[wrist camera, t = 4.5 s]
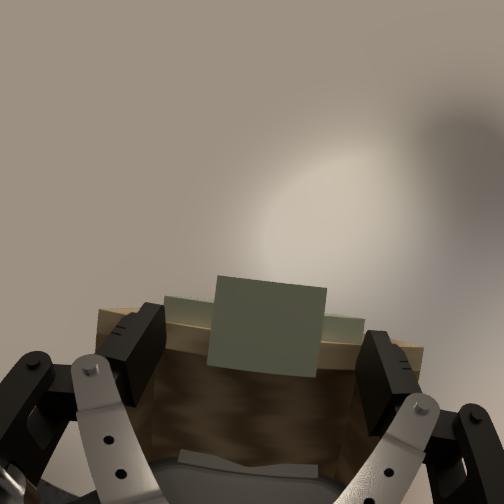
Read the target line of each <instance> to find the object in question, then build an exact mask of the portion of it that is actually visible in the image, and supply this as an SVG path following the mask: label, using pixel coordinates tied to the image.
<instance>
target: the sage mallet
mask: <svg viewBox="0 0 504 504" xmlns="http://www.w3.org/2000/svg"><path fill="white" fill-rule="evenodd" d="M326 294H327V288H321V287H312V286H303V285H293V284H285V283H276V282H268V281H259V280H251V279H243V278H235V277H227V276H219V275H218V276H217V284H216V292H215V299H214V301H213V300H206V299H198V298H192V297H177V296H165V297H164V305H163V306H164V308H165V319H166V321H169V322H175V323H180V324H186V325H193V326H199V327H205V328H211V332H210V340H209V349H208V358H207V365H210V366H216V367H223V368H230V369H237V370H244V371H252V372H261V373H270V374H279V375H290V376H302V377H315V378H316V371H317V365H318V358H319V351H320V344H321V341H327V342H340V343H356V344H362V339H363V331H364V323H365V319H361V318H355V317H349V316H342V315H335V314H325V313H324V312H325V303H326Z"/></svg>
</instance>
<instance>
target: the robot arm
mask: <svg viewBox="0 0 504 504" xmlns="http://www.w3.org/2000/svg"><path fill="white" fill-rule="evenodd" d="M166 341H167V334H166V319H165V308H164V306H163V305H159V304H153V303H148V302H146V303H144V304H143V305H142V307H141V308H140V309H139V311H138V312H137V313H135V312H131V313H129V314H127V315H126V316H124V317H122V318H121V320H120V321H119V322H118V323H117V325H116V327H114V329H113V330H112V331H111V333H110V334H109V335H108V336H107V338H106V339H105V340H104V342H103V343H102V344H101V346H100V347H99V348H98V349H97V351H96V352H95V354H89V355H84V356H81V357H79V358H78V359H76V360H75V361H74V363H73V364H72V365H59V364H53V363H52V361H51V358H50V356H49V355H48V354H47V353H44V352H42V351H33V352H29V353H27V354H25V355H24V356H22V357H21V358H20V359H19V361H18V362H17V363H16V364H15V365H14V367H13V368H12V369H11V370H10V372H9V373H8V374H7V375H6V377H5V378H4V379H3V380H2V382H1V383H0V504H40V501H41V499H40V494H39V492H38V490H37V488H36V487H37V484H38V482H39V480H40V478H41V476H42V474H43V472H44V470H45V468H46V466H47V464H48V462H49V459H50V457H51V456H52V454H53V452H54V450H55V448H56V446H57V444H58V442H59V440H60V438H61V436H62V434H63V432H64V431H65V429H66V427H67V425H68V423H69V421H77V422H78V426H79V430H80V435H81V438H82V443H83V447H84V450H85V454H86V458H87V461H88V465H89V468H90V472H91V475H92V478H93V481H94V484H95V487H96V490H95V491H92V492H90V493H89V494H86V495H84V496H82V497H80V498H78V499H75V500H73V501H71V502H69V503H67V504H400V503H401V501H402V500H403V498H404V496H405V494H406V492H407V491H408V489H409V487H410V485H411V483H412V481H413V480H414V478H415V476H416V473H417V472H418V470H419V468H420V466H421V464H422V463H423V464H426V468H427V473H428V478H429V482H430V488H431V492H432V498H433V504H504V449H503V447H502V444H501V442H500V440H499V437H498V435H497V432H496V430H495V428H494V425H493V423H492V421H491V419H490V416H489V414H488V413H487V412H486V410H485V409H484V408H482V407H481V406H479V405H477V404H472V403H469V404H465V405H464V406H462V408H461V409H460V411H459V412H458V413H456V412H450V411H445V410H441V409H440V407H439V405H438V403H437V402H436V401H435V400H434V399H433V398H432V397H430V396H429V395H426V394H423V393H422V391H421V388H420V386H419V384H418V381H417V379H416V377H415V374H414V372H413V370H412V367H411V365H410V363H408V358H407V356H406V354H405V352H404V351H403V350H402V349H401V348H400V347H399V346H398V345H397V344H392V343H391V340H390V338H389V336H388V334H387V332H386V331H375V330H368V331H367V332H366V334H365V337H364V340H363V343H362V346H361V349H360V351H359V354H358V357H357V360H356V365H355V375H356V380H357V384H358V388H359V393H360V397H361V402H362V406H363V411H364V416H365V420H366V425H367V430H368V435H369V437H370V436H379V438H380V442H379V443H378V445H377V446H376V448H375V449H374V451H373V452H372V454H371V455H370V457H369V458H368V459H367V461H366V462H365V464H364V465H363V466H362V468H361V469H360V471H359V472H358V473H357V475H356V476H355V477H354V479H353V480H352V481H351V482H350V484H349V485H348V486H347V487H346V486H345V485H343V484H342V483H340V482H338V481H337V480H335V479H332V478H330V477H327V476H324V475H321V474H318V465H305V464H285V463H284V464H277V465H269V466H260V467H245V466H242V465H239V464H236V463H234V462H231V461H228V460H225V459H223V458H220V457H217V456H215V455H210V454H204V453H199V452H194V451H189V450H184V449H181V451H180V454H179V457H172V458H164V459H158V460H155V461H151V462H149V463H147V461H146V459H145V456H144V454H143V452H142V450H141V447H140V445H139V443H138V440H137V438H136V435H135V433H134V430H133V428H132V425H131V423H130V420H129V418H128V415H127V412H126V410H125V406H126V405H127V406H130V407H134V408H136V407H137V405H138V403H139V400H140V398H141V396H142V394H143V392H144V390H145V388H146V386H147V384H148V382H149V380H150V378H151V376H152V374H153V372H154V370H155V368H156V366H157V364H158V362H159V360H160V358H161V356H162V354H163V352H164V350H165V347H166ZM35 406H36V407H35ZM34 407H35V408H34ZM33 409H34V410H33ZM32 410H33V411H32ZM31 412H32V413H31ZM30 413H31V414H30ZM29 415H30V416H29ZM28 417H29V418H28ZM462 458H464V462H465V465H466V469H467V476H466V473H465V470H464V466H463V463H462Z"/></svg>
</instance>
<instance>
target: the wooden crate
mask: <svg viewBox="0 0 504 504" xmlns="http://www.w3.org/2000/svg"><path fill="white" fill-rule="evenodd" d="M139 309H140V308H124V309H99V314H98V324H97V335H96V349H95V352H96V351H97V349H98V348H99V347H100V346H101V344H102V343H103V342H104V340H105V339H106V338H107V336H108V335H109V334H110V333H111V331H112V330H113V329H114V327H116V325H117V323H118V322H119V321H120V320H121V318H122V317H124V316H126V315H127V314H129V313H131V312H135V313H137V312H138V311H139ZM210 332H211V328H205V327H199V326H193V325H186V324H180V323H175V322H169V321H166V334H167V341H166V347H165V350H164V352H163V354H162V356H161V358H160V360H159V362H158V364H157V366H156V368H155V370H154V372H153V374H152V376H151V378H150V380H149V382H148V384H147V386H146V388H145V390H144V392H143V394H142V396H141V398H140V400H139V403H138V405H137V407H136V408H134V407H130V406H127V405H126V406H125V410H126V412H127V415H128V418H129V420H130V423H131V425H132V428H133V430H134V433H135V435H136V438H137V440H138V443H139V445H140V447H141V450H142V452H143V454H144V456H145V459H146V461H147V463H149V462H151V461H155V460H158V459H164V458H172V457H179V454H180V451H181V449H184V450H189V451H194V452H199V453H204V454H210V455H215V456H217V457H220V458H223V459H225V460H228V461H231V462H234V463H236V464H239V465H242V466H245V467H260V466H269V465H277V464H284V463H285V464H305V465H318V474H321V475H324V476H327V477H330V478H332V479H335V480H337V481H338V482H340V483H342V484H343V485H345V486H346V487H347V486H348V485H349V484H350V482H351V481H352V480H353V479H354V477H355V476H356V475H357V473H358V472H359V471H360V469H361V468H362V466H363V465H364V464H365V462H366V461H367V459H368V458H369V457H370V455H371V454H372V452H373V451H374V449H375V448H376V446H377V445H378V443H379V442H380V438H379V436H370V437H369V435H368V430H367V425H366V420H365V416H364V411H363V406H362V402H361V397H360V393H359V388H358V384H357V380H356V375H355V365H356V360H357V357H358V354H359V351H360V349H361V346H362V344H356V343H340V342H327V341H321V344H320V351H319V358H318V365H317V371H316V378H315V377H302V376H290V375H279V374H270V373H261V372H252V371H244V370H237V369H230V368H223V367H216V366H210V365H207V358H208V349H209V340H210ZM364 337H365V334H363V339H362V343H363V340H364ZM390 340H391V343H392V344H397V345H398V346H399V347H400V348H401V349H402V350H403V351H404V352H405V354H406V356H407V358H408V363H410V365H411V367H412V370H413V372H414V374H415V377H416V379H417V381H418V379H419V374H420V369H421V363H422V356H423V349H424V348H423V347H420V346H417V345H413V344H409V343H405V342H401V341H397V340H394V339H390Z"/></svg>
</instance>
